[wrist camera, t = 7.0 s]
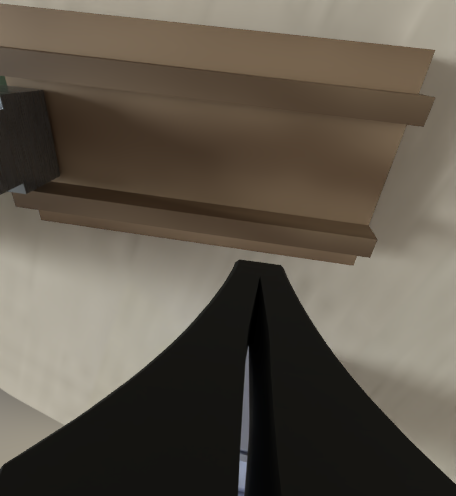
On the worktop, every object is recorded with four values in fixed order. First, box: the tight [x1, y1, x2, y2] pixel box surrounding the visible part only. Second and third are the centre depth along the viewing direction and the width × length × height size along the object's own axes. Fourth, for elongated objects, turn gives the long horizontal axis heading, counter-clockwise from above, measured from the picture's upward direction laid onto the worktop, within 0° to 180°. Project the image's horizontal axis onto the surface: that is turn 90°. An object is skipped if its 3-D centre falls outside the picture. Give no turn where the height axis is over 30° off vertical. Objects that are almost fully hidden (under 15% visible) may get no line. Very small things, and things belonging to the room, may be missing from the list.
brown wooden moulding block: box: [0, 4, 435, 265], centre depth 15 cm, size 10×18×4 cm, turn 85°
